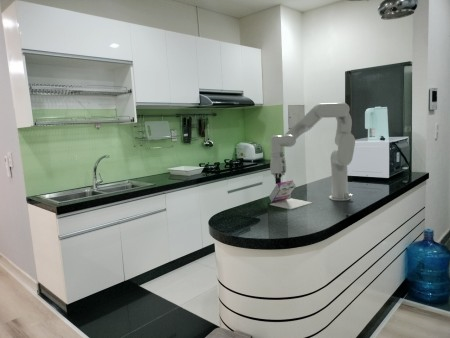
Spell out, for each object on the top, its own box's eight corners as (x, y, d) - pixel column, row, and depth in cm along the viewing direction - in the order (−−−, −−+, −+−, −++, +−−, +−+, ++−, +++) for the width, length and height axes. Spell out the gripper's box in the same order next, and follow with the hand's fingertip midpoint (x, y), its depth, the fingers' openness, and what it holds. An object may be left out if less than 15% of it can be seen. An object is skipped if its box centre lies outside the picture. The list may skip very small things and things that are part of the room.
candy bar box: (283, 193, 221) (292, 179, 208) (286, 199, 218) (296, 186, 205) (268, 196, 217) (277, 182, 204) (271, 203, 214) (280, 189, 201)
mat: (312, 203, 209) (312, 202, 209) (290, 209, 197) (290, 208, 197) (291, 198, 222) (291, 198, 222) (269, 204, 210) (269, 204, 210)
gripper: (290, 155, 210) (291, 184, 212) (273, 154, 222) (274, 181, 224) (281, 156, 205) (282, 186, 208) (264, 155, 217) (265, 183, 220)
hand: (278, 183), depth 216 cm, fingers closed
